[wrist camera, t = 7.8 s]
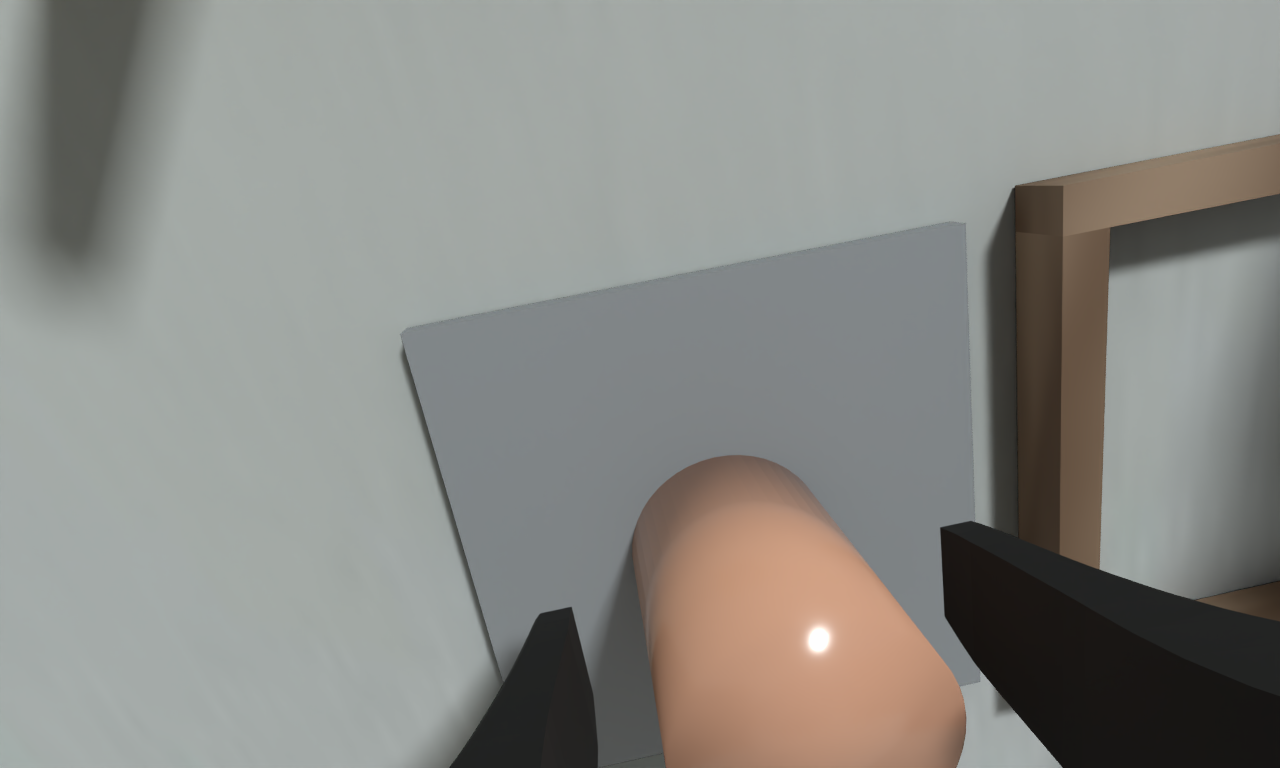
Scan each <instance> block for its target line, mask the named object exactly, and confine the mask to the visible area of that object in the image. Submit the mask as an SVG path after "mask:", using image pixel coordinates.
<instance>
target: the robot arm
mask: <svg viewBox="0 0 1280 768" xmlns="http://www.w3.org/2000/svg"><path fill="white" fill-rule="evenodd" d="M940 536H941V556H942V576H943V596H944V616H945V618H946V620H947V621H948V623H949V625H950V626H951V628H952V629H953V631H954V633H955V634H956V636H957V637H958V639H959V641H960V642H961V644H962V645H963V647H964V648H965V650H966V651H967V653H968V654H969V656H970V657H971V659H972V660H973V662H974V663H975V664H976V665H977V667H978V668H979V669H980V670H981V672H982V673H983V674H984V675H985V676H986V678H987V679H988V680H989V681H990V682H991V684H992V685H993V686H994V687H995V688H996V690H997V691H998V692H999V693H1000V694H1001V696H1002V697H1003V698H1004V699H1005V700H1006V701H1007V703H1008V704H1009V705H1010V706H1011V707H1012V708H1013V710H1014V711H1015V712H1016V713H1017V714H1018V716H1019V717H1020V718H1021V719H1022V720H1023V721H1024V723H1025V724H1026V725H1027V726H1028V727H1029V728H1030V730H1031V731H1032V732H1033V733H1034V734H1035V735H1036V737H1037V738H1038V739H1039V740H1040V741H1041V742H1042V744H1043V745H1044V746H1045V747H1046V748H1047V750H1048V751H1049V752H1050V753H1051V754H1052V755H1053V757H1054V758H1055V759H1056V760H1057V761H1058V762H1059V764H1060V765H1061V766H1062V767H1063V768H1280V621H1276V620H1272V619H1267V618H1262V617H1258V616H1253V615H1249V614H1245V613H1241V612H1237V611H1232V610H1228V609H1224V608H1221V607H1217V606H1213V605H1210V604H1206V603H1203V602H1199V601H1195V600H1192V599H1188V598H1184V597H1181V596H1177V595H1174V594H1171V593H1167V592H1164V591H1161V590H1158V589H1154V588H1151V587H1148V586H1145V585H1142V584H1139V583H1136V582H1133V581H1131V580H1128V579H1125V578H1122V577H1119V576H1116V575H1113V574H1110V573H1107V572H1105V571H1102V570H1099V569H1096V568H1094V567H1091V566H1088V565H1085V564H1083V563H1080V562H1078V561H1075V560H1072V559H1070V558H1067V557H1065V556H1062V555H1059V554H1057V553H1054V552H1052V551H1049V550H1047V549H1044V548H1042V547H1039V546H1037V545H1034V544H1032V543H1029V542H1027V541H1024V540H1022V539H1019V538H1017V537H1014V536H1012V535H1009V534H1006V533H1004V532H1001V531H999V530H996V529H993V528H991V527H988V526H985V525H982V524H979V523H976V522H973V521H967V522H963V523H958V524H953V525H949V526H944V527H940ZM450 768H598V740H597V728H596V717H595V706H594V696H593V691H592V687H591V683H590V679H589V675H588V671H587V666H586V662H585V658H584V654H583V650H582V646H581V642H580V638H579V634H578V630H577V626H576V622H575V618H574V614H573V610H572V607H567V608H563V609H558V610H553V611H549V612H544V613H540V614H539V615H538V617H537V618H536V620H535V622H534V624H533V626H532V628H531V630H530V632H529V635H528V637H527V639H526V641H525V643H524V645H523V647H522V649H521V651H520V653H519V655H518V657H517V659H516V661H515V663H514V665H513V667H512V669H511V671H510V672H509V674H508V676H507V678H506V680H505V681H504V683H503V685H502V687H501V689H500V691H499V692H498V694H497V696H496V698H495V699H494V701H493V703H492V704H491V706H490V708H489V709H488V711H487V712H486V714H485V716H484V717H483V719H482V720H481V722H480V724H479V725H478V727H477V728H476V730H475V732H474V733H473V735H472V736H471V738H470V739H469V741H468V742H467V744H466V745H465V747H464V748H463V750H462V751H461V752H460V754H459V755H458V757H457V758H456V759H455V761H454V762H453V764H452V765H451V766H450Z"/></svg>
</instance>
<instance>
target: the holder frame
mask: <svg viewBox="0 0 1280 768" xmlns="http://www.w3.org/2000/svg"><path fill="white" fill-rule="evenodd" d="M1276 194H1280V134H1279V135H1274V136H1269V137H1264V138H1258V139H1253V140H1248V141H1243V142H1238V143H1233V144H1228V145H1222V146H1217V147H1212V148H1207V149H1202V150H1197V151H1191V152H1186V153H1181V154H1176V155H1171V156H1166V157H1161V158H1155V159H1150V160H1145V161H1140V162H1135V163H1130V164H1125V165H1119V166H1114V167H1109V168H1104V169H1099V170H1094V171H1089V172H1083V173H1078V174H1073V175H1068V176H1063V177H1058V178H1052V179H1047V180H1042V181H1037V182H1032V183H1027V184H1022V185H1016V186H1015V221H1016V319H1017V416H1018V514H1019V539H1022V540H1024V541H1027V542H1029V543H1032V544H1034V545H1037V546H1039V547H1042V548H1044V549H1047V550H1049V551H1052V552H1054V553H1057V554H1059V555H1062V556H1065V557H1067V558H1070V559H1072V560H1075V561H1078V562H1080V563H1083V564H1085V565H1088V566H1091V567H1094V568H1096V569H1099V568H1100V536H1101V504H1102V472H1103V440H1104V409H1105V377H1106V345H1107V313H1108V282H1109V250H1110V227H1114V226H1119V225H1124V224H1129V223H1134V222H1139V221H1144V220H1150V219H1155V218H1160V217H1165V216H1170V215H1175V214H1180V213H1185V212H1190V211H1195V210H1200V209H1205V208H1210V207H1215V206H1220V205H1225V204H1230V203H1235V202H1240V201H1245V200H1250V199H1256V198H1261V197H1266V196H1271V195H1276ZM1195 601H1199V602H1203V603H1206V604H1210V605H1213V606H1217V607H1221V608H1224V609H1228V610H1232V611H1237V612H1241V613H1245V614H1249V615H1253V616H1258V617H1262V618H1267V619H1272V620H1276V621H1280V581H1278V582H1274V583H1270V584H1265V585H1261V586H1256V587H1252V588H1247V589H1243V590H1238V591H1234V592H1229V593H1225V594H1220V595H1216V596H1211V597H1207V598H1202V599H1198V600H1195Z"/></svg>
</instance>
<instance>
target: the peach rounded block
mask: <svg viewBox="0 0 1280 768" xmlns="http://www.w3.org/2000/svg"><path fill="white" fill-rule="evenodd" d="M632 559H633V565H634V572H635V578H636V584H637V590H638V597H639V603H640V609H641V615H642V622H643V628H644V634H645V640H646V646H647V653H648V659H649V665H650V671H651V678H652V684H653V690H654V696H655V702H656V709H657V715H658V721H659V727H660V733H661V740H662V746H663V752H664V758H665V765H666V768H956V767H957V765H958V762H959V759H960V756H961V753H962V750H963V746H964V740H965V734H966V712H965V704H964V699H963V696H962V693H961V690H960V687H959V685H958V683H957V681H956V679H955V677H954V675H953V673H952V671H951V670H950V669H949V667H948V666H947V665H946V663H945V662H944V661H943V659H942V658H941V657H940V656H939V654H938V653H937V652H936V650H935V649H934V648H933V647H932V645H931V644H930V643H929V641H928V640H927V639H926V638H925V636H924V635H923V634H922V633H921V631H920V630H919V629H918V627H917V626H916V625H915V624H914V622H913V621H912V620H911V618H910V617H909V616H908V615H907V613H906V612H905V611H904V610H903V608H902V607H901V606H900V604H899V603H898V602H897V601H896V599H895V598H894V597H893V595H892V594H891V593H890V592H889V590H888V589H887V588H886V587H885V585H884V584H883V583H882V581H881V580H880V579H879V578H878V576H877V575H876V574H875V572H874V571H873V570H872V569H871V567H870V566H869V565H868V564H867V562H866V561H865V560H864V558H863V557H862V556H861V555H860V553H859V552H858V551H857V549H856V548H855V547H854V546H853V544H852V543H851V542H850V541H849V539H848V538H847V537H846V535H845V534H844V533H843V532H842V530H841V529H840V528H839V526H838V525H837V524H836V523H835V521H834V520H833V519H832V518H831V516H830V515H829V514H828V512H827V511H826V510H825V509H824V507H823V506H822V505H821V504H820V502H819V501H818V500H817V498H816V497H815V496H814V495H813V493H812V492H811V491H810V489H809V488H808V487H807V486H806V484H805V483H804V482H803V481H802V480H801V479H800V478H799V477H798V476H796V475H795V474H794V473H792V472H791V471H790V470H788V469H787V468H785V467H783V466H781V465H779V464H777V463H775V462H772V461H769V460H767V459H763V458H759V457H754V456H745V455H727V456H720V457H714V458H710V459H707V460H703V461H700V462H698V463H695V464H693V465H691V466H688V467H687V468H685V469H683V470H681V471H679V472H678V473H676V474H675V475H674V476H672V477H671V478H669V479H668V480H667V481H666V482H665V483H664V484H662V485H661V486H660V487H659V488H658V489H657V490H656V492H655V493H654V494H653V495H652V496H651V498H650V499H649V500H648V502H647V503H646V505H645V507H644V508H643V510H642V512H641V514H640V516H639V518H638V521H637V524H636V527H635V530H634V535H633V542H632Z"/></svg>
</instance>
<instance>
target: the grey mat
mask: <svg viewBox="0 0 1280 768" xmlns="http://www.w3.org/2000/svg"><path fill="white" fill-rule="evenodd" d="M400 335H401V339H402V342H403V346H404V349H405V352H406V356H407V359H408V362H409V366H410V369H411V373H412V376H413V379H414V383H415V386H416V390H417V393H418V396H419V400H420V403H421V406H422V410H423V413H424V417H425V420H426V423H427V427H428V430H429V434H430V437H431V440H432V444H433V447H434V450H435V454H436V457H437V461H438V464H439V467H440V471H441V474H442V478H443V481H444V484H445V488H446V491H447V494H448V498H449V501H450V505H451V508H452V511H453V515H454V518H455V521H456V525H457V528H458V532H459V535H460V538H461V542H462V545H463V549H464V552H465V555H466V559H467V562H468V565H469V569H470V572H471V576H472V579H473V582H474V586H475V589H476V593H477V596H478V599H479V603H480V606H481V609H482V613H483V616H484V620H485V623H486V626H487V630H488V633H489V636H490V640H491V643H492V647H493V650H494V653H495V657H496V660H497V664H498V667H499V670H500V674H501V677H502V680H503V683H504V681H505V680H506V678H507V676H508V674H509V672H510V671H511V669H512V667H513V665H514V663H515V661H516V659H517V657H518V655H519V653H520V651H521V649H522V647H523V645H524V643H525V641H526V639H527V637H528V635H529V632H530V630H531V628H532V626H533V624H534V622H535V620H536V618H537V617H538V615H539V614H540V613H544V612H549V611H553V610H558V609H563V608H567V607H572V610H573V614H574V618H575V622H576V626H577V630H578V634H579V638H580V642H581V646H582V650H583V654H584V658H585V662H586V666H587V671H588V675H589V679H590V683H591V687H592V691H593V696H594V706H595V717H596V728H597V740H598V768H600V767H604V766H609V765H613V764H618V763H622V762H627V761H631V760H636V759H640V758H644V757H649V756H653V755H658V754H662V753H664V752H663V746H662V740H661V733H660V727H659V721H658V715H657V709H656V702H655V696H654V690H653V684H652V678H651V671H650V665H649V659H648V653H647V646H646V640H645V634H644V628H643V622H642V615H641V609H640V603H639V597H638V590H637V584H636V578H635V572H634V565H633V559H632V542H633V535H634V530H635V527H636V524H637V521H638V518H639V516H640V514H641V512H642V510H643V508H644V507H645V505H646V503H647V502H648V500H649V499H650V498H651V496H652V495H653V494H654V493H655V492H656V490H657V489H658V488H659V487H660V486H661V485H662V484H664V483H665V482H666V481H667V480H668V479H669V478H671V477H672V476H674V475H675V474H676V473H678V472H679V471H681V470H683V469H685V468H687V467H688V466H691V465H693V464H695V463H698V462H700V461H703V460H707V459H710V458H714V457H720V456H727V455H745V456H754V457H759V458H763V459H767V460H769V461H772V462H775V463H777V464H779V465H781V466H783V467H785V468H787V469H788V470H790V471H791V472H792V473H794V474H795V475H796V476H798V477H799V478H800V479H801V480H802V481H803V482H804V483H805V484H806V486H807V487H808V488H809V489H810V491H811V492H812V493H813V495H814V496H815V497H816V498H817V500H818V501H819V502H820V504H821V505H822V506H823V507H824V509H825V510H826V511H827V512H828V514H829V515H830V516H831V518H832V519H833V520H834V521H835V523H836V524H837V525H838V526H839V528H840V529H841V530H842V532H843V533H844V534H845V535H846V537H847V538H848V539H849V541H850V542H851V543H852V544H853V546H854V547H855V548H856V549H857V551H858V552H859V553H860V555H861V556H862V557H863V558H864V560H865V561H866V562H867V564H868V565H869V566H870V567H871V569H872V570H873V571H874V572H875V574H876V575H877V576H878V578H879V579H880V580H881V581H882V583H883V584H884V585H885V587H886V588H887V589H888V590H889V592H890V593H891V594H892V595H893V597H894V598H895V599H896V601H897V602H898V603H899V604H900V606H901V607H902V608H903V610H904V611H905V612H906V613H907V615H908V616H909V617H910V618H911V620H912V621H913V622H914V624H915V625H916V626H917V627H918V629H919V630H920V631H921V633H922V634H923V635H924V636H925V638H926V639H927V640H928V641H929V643H930V644H931V645H932V647H933V648H934V649H935V650H936V652H937V653H938V654H939V656H940V657H941V658H942V659H943V661H944V662H945V663H946V665H947V666H948V667H949V669H950V670H951V671H952V673H953V675H954V677H955V679H956V681H957V683H958V685H959V686H964V685H968V684H972V683H977V682H980V669H979V668H978V667H977V665H976V664H975V663H974V662H973V660H972V659H971V657H970V656H969V654H968V653H967V651H966V650H965V648H964V647H963V645H962V644H961V642H960V641H959V639H958V637H957V636H956V634H955V633H954V631H953V629H952V628H951V626H950V625H949V623H948V621H947V620H946V618H945V616H944V596H943V576H942V556H941V536H940V527H944V526H949V525H953V524H958V523H963V522H967V521H973V522H975V503H974V472H973V441H972V411H971V380H970V349H969V318H968V287H967V256H966V225H965V223H957V222H947V223H941V224H936V225H931V226H926V227H921V228H916V229H911V230H906V231H901V232H895V233H890V234H885V235H880V236H875V237H870V238H865V239H860V240H855V241H849V242H844V243H839V244H834V245H829V246H824V247H819V248H814V249H809V250H804V251H798V252H793V253H788V254H783V255H778V256H773V257H768V258H763V259H758V260H752V261H747V262H742V263H737V264H732V265H727V266H722V267H717V268H712V269H706V270H701V271H696V272H691V273H686V274H681V275H676V276H671V277H666V278H660V279H655V280H650V281H645V282H640V283H635V284H630V285H625V286H620V287H614V288H609V289H604V290H599V291H594V292H589V293H584V294H579V295H574V296H569V297H563V298H558V299H553V300H548V301H543V302H538V303H533V304H528V305H523V306H517V307H512V308H507V309H502V310H497V311H492V312H487V313H482V314H477V315H471V316H466V317H461V318H456V319H451V320H446V321H441V322H436V323H431V324H425V325H420V326H415V327H410V328H407V329H405V330H404V331H403V332H402V333H401V334H400Z"/></svg>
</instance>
